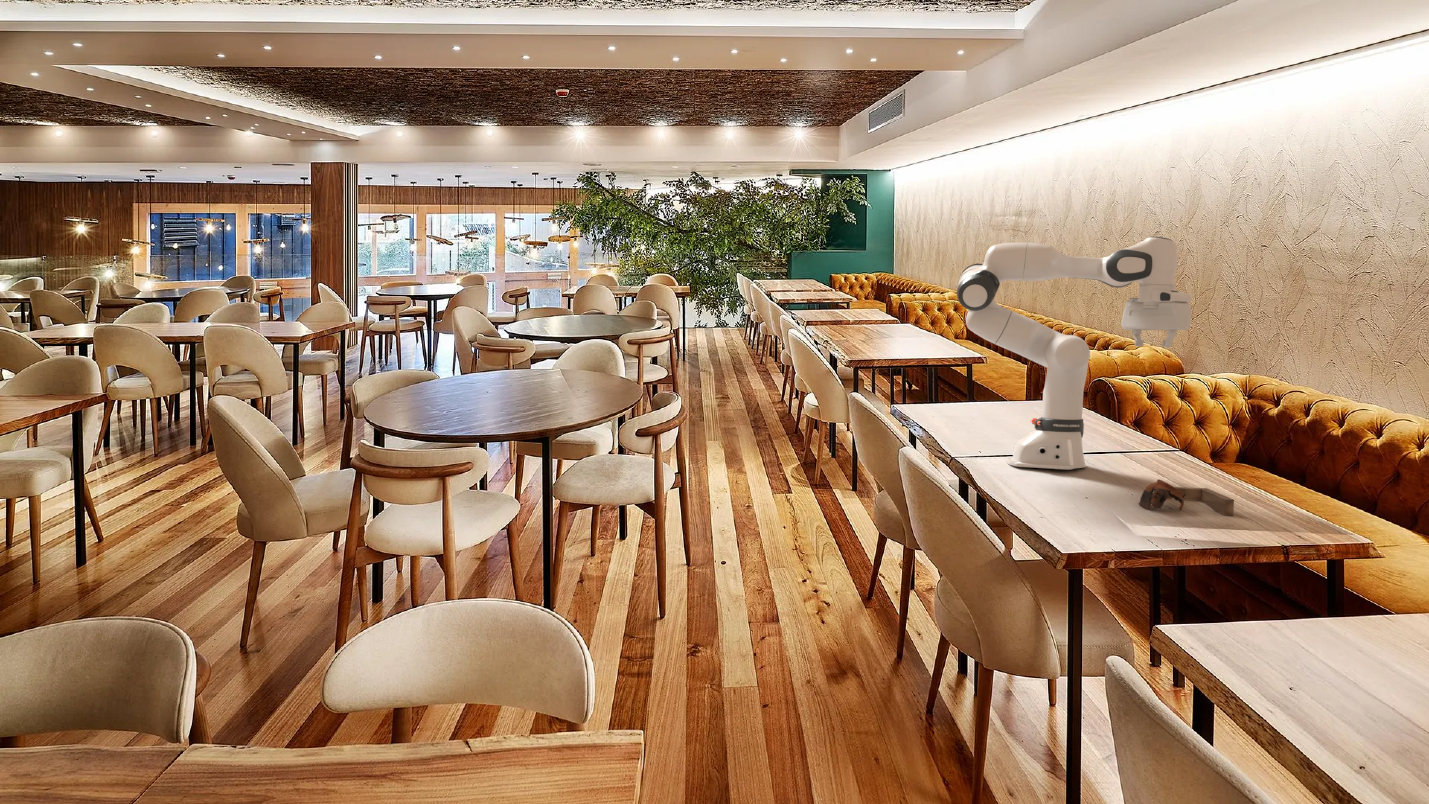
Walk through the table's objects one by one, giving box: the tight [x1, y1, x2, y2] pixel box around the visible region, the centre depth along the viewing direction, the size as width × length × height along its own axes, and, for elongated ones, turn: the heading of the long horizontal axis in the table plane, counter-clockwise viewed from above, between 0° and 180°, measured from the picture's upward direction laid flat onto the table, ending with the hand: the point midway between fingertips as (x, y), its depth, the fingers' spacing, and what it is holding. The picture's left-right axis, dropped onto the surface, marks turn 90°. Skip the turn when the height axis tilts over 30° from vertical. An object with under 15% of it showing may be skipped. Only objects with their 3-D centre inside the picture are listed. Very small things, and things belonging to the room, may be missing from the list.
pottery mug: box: [1138, 479, 1185, 511], centre depth 205 cm, size 12×9×8 cm
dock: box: [1153, 486, 1235, 517], centre depth 207 cm, size 13×16×4 cm
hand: (1152, 346), depth 225 cm, fingers open, 8 cm apart
